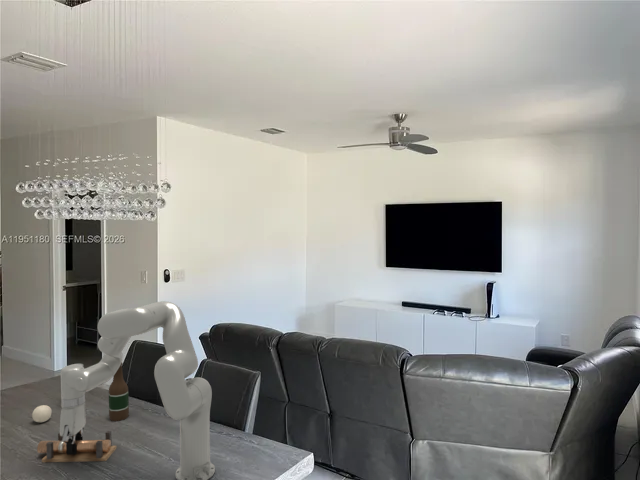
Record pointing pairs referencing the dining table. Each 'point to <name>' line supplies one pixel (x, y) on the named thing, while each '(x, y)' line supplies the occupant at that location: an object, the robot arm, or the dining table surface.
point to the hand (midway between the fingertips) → (74, 450)
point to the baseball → (41, 413)
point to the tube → (80, 446)
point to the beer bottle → (118, 397)
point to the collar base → (79, 453)
